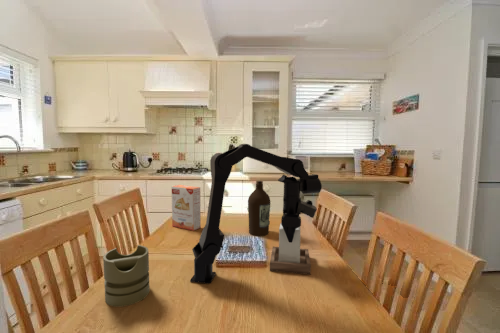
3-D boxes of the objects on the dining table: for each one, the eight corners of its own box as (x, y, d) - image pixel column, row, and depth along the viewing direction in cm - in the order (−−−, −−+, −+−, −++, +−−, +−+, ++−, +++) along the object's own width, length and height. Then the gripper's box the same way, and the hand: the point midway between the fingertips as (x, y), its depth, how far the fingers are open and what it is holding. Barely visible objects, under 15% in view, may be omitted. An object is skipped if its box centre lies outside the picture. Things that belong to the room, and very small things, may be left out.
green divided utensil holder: (149, 257, 69) (100, 265, 64) (150, 300, 70) (102, 311, 65) (147, 242, 79) (105, 248, 74) (148, 280, 80) (107, 287, 76)
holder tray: (310, 274, 84) (310, 265, 84) (269, 270, 86) (269, 262, 86) (308, 256, 98) (308, 249, 97) (272, 254, 100) (272, 246, 99)
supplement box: (300, 266, 88) (300, 229, 87) (278, 264, 89) (278, 228, 88) (299, 257, 95) (300, 223, 94) (279, 255, 96) (280, 222, 95)
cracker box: (171, 226, 130) (170, 185, 128) (179, 223, 136) (179, 184, 134) (193, 231, 124) (192, 188, 122) (201, 227, 129) (200, 186, 127)
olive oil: (243, 232, 123) (243, 180, 121) (258, 227, 130) (259, 178, 128) (258, 238, 116) (259, 183, 113) (274, 233, 123) (275, 181, 121)
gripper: (318, 201, 79) (316, 250, 81) (313, 190, 98) (311, 230, 99) (281, 199, 81) (280, 247, 82) (283, 189, 99) (282, 228, 101)
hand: (290, 237), depth 91 cm, fingers open, 8 cm apart
